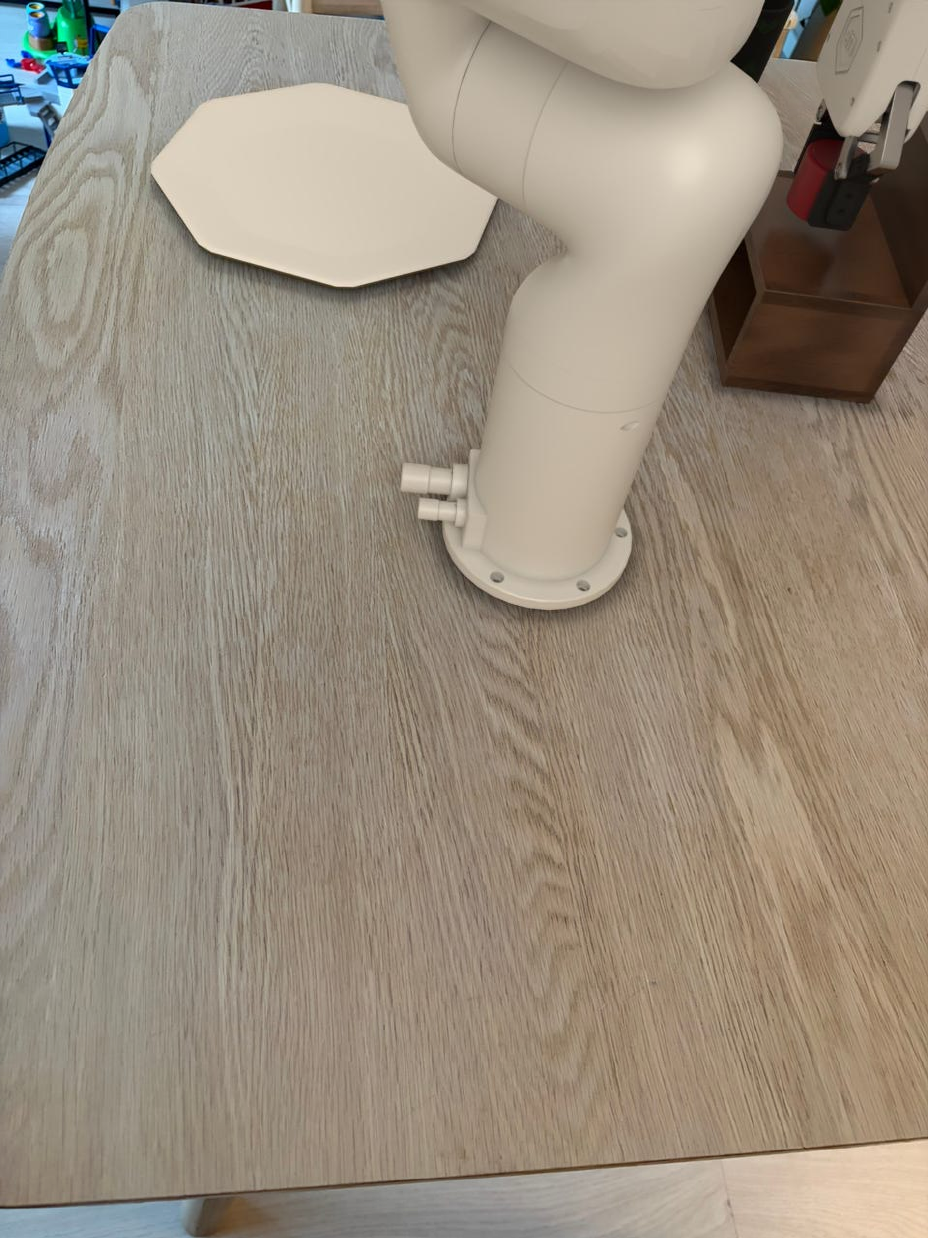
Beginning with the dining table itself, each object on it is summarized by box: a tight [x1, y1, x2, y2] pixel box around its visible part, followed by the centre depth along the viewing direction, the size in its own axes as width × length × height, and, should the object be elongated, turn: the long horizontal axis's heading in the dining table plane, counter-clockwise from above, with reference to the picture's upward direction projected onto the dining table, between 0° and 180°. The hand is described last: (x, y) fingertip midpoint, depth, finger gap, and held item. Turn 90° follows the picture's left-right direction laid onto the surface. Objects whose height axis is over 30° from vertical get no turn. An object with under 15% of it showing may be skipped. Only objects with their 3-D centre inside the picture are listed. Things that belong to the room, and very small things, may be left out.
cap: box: [786, 139, 869, 222], centre depth 74 cm, size 5×5×4 cm
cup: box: [730, 0, 796, 85], centre depth 98 cm, size 8×8×12 cm
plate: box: [150, 82, 499, 290], centre depth 87 cm, size 28×28×2 cm
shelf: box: [706, 110, 928, 405], centre depth 78 cm, size 12×16×16 cm
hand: (821, 199), depth 75 cm, fingers closed on cap, 5 cm apart
